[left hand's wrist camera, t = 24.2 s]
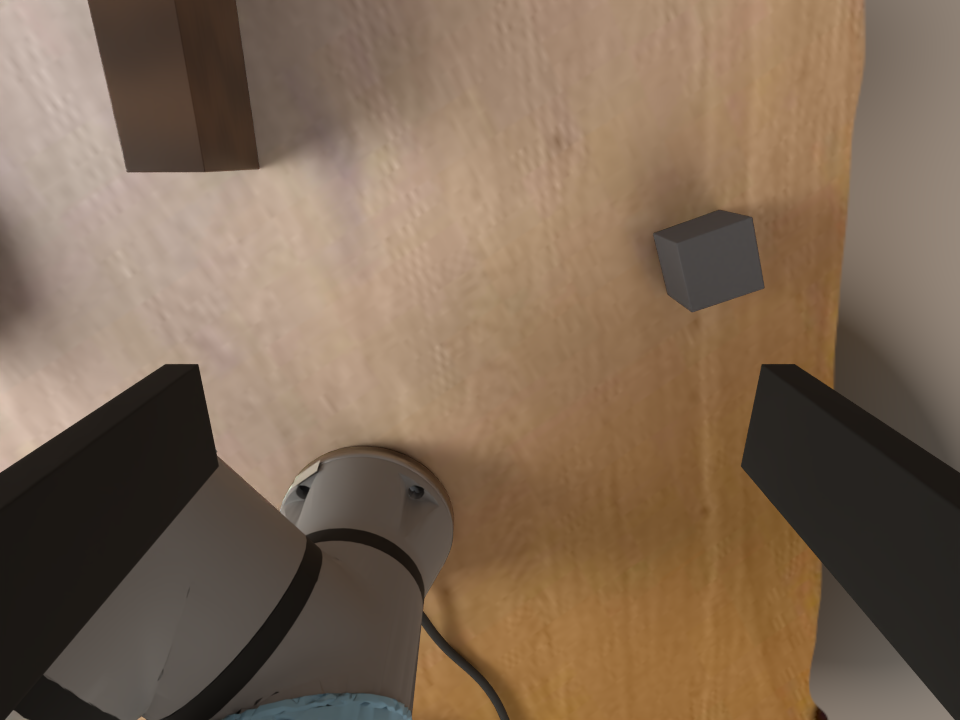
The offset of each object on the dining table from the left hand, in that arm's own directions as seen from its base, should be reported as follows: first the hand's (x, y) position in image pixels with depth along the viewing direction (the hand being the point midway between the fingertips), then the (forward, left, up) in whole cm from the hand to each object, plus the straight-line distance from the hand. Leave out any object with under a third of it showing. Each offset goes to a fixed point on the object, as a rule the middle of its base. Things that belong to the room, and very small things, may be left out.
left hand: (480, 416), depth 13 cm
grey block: (-1, -16, -29) cm, 33 cm away
